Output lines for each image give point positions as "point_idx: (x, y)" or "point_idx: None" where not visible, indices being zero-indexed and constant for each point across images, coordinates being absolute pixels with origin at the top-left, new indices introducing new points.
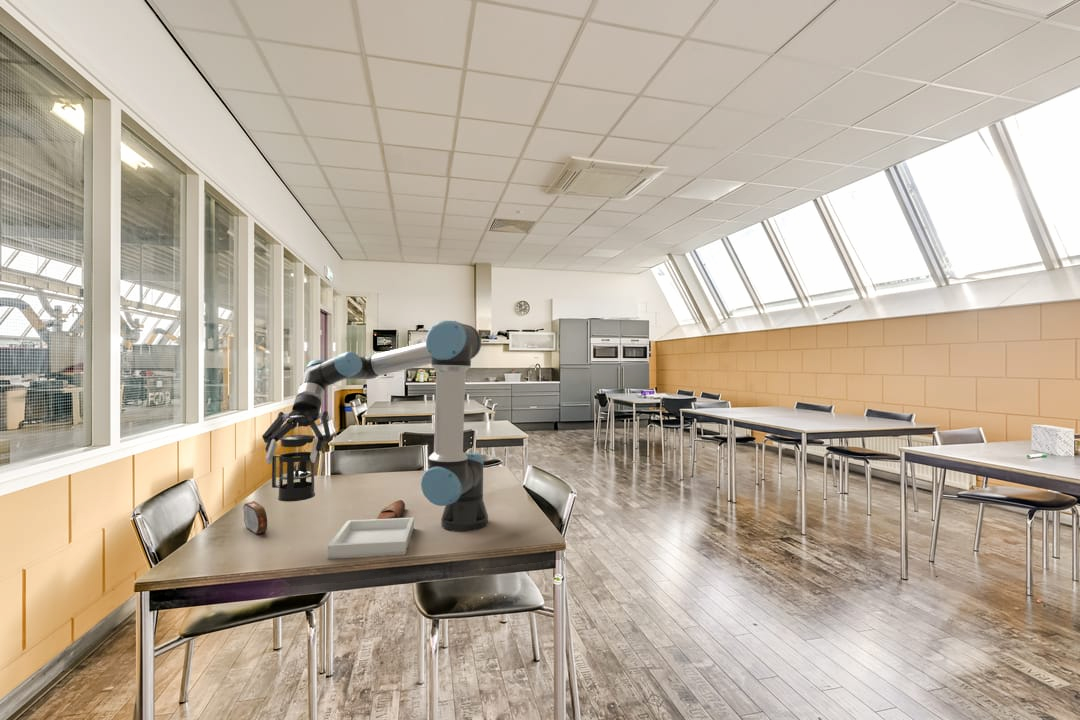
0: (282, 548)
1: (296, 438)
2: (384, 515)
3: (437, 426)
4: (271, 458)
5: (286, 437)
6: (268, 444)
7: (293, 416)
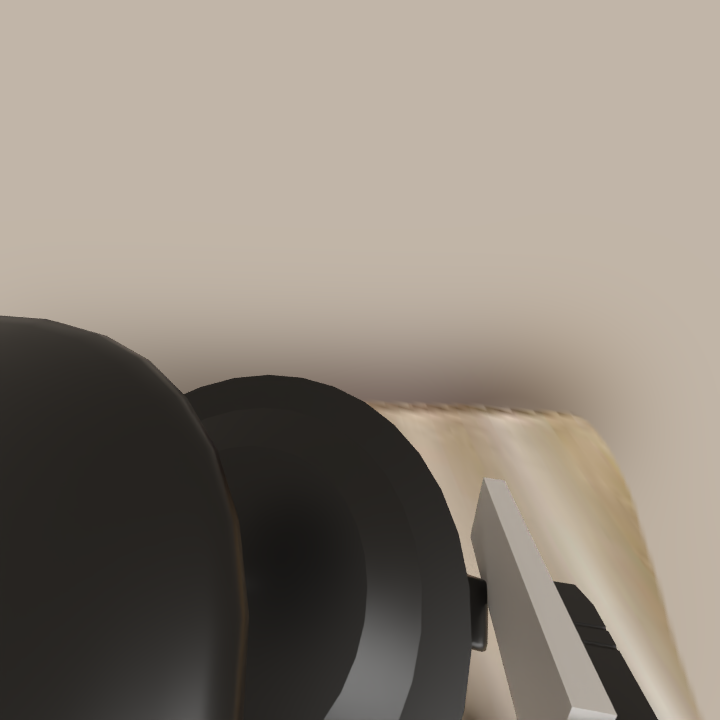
0: None
1: (245, 420)
2: None
3: None
4: (481, 550)
5: (366, 507)
6: (604, 659)
7: (29, 405)
